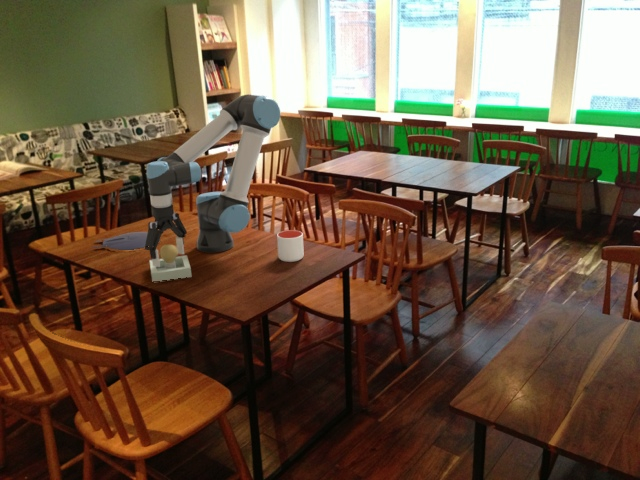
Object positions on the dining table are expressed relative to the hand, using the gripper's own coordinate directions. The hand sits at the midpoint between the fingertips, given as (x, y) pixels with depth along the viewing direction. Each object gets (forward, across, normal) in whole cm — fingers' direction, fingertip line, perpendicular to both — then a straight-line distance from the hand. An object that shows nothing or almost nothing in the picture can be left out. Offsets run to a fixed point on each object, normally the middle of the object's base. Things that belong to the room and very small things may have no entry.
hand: (169, 259), depth 218 cm
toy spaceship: (+6, -19, -40) cm, 45 cm away
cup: (+6, -30, +35) cm, 46 cm away
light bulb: (+4, 0, 0) cm, 4 cm away
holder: (+5, 0, 0) cm, 5 cm away
